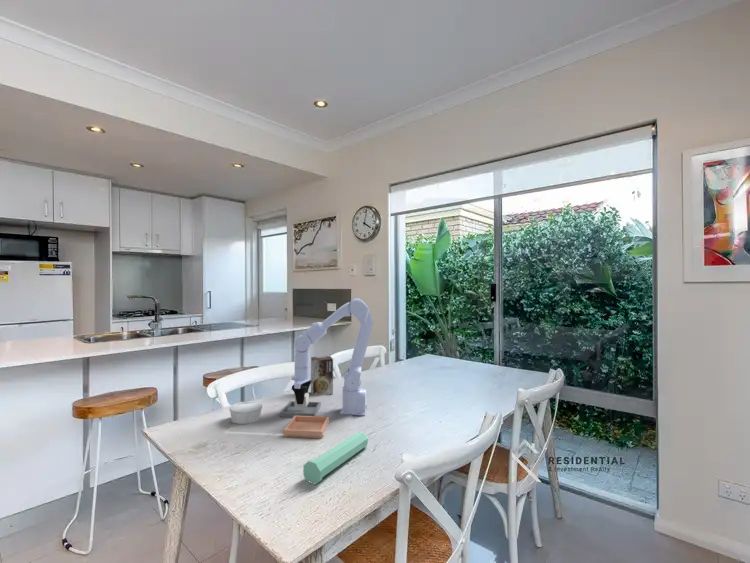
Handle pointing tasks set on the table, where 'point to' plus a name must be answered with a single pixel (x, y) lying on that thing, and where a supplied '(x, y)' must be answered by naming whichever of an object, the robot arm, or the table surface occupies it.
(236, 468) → the table surface
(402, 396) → the table surface
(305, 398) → the white cube
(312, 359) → the coffee box
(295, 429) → the terracotta tray
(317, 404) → the grey tray
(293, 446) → the table surface
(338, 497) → the table surface
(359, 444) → the mint green octagonal prism
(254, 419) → the ramekin
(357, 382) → the robot arm
